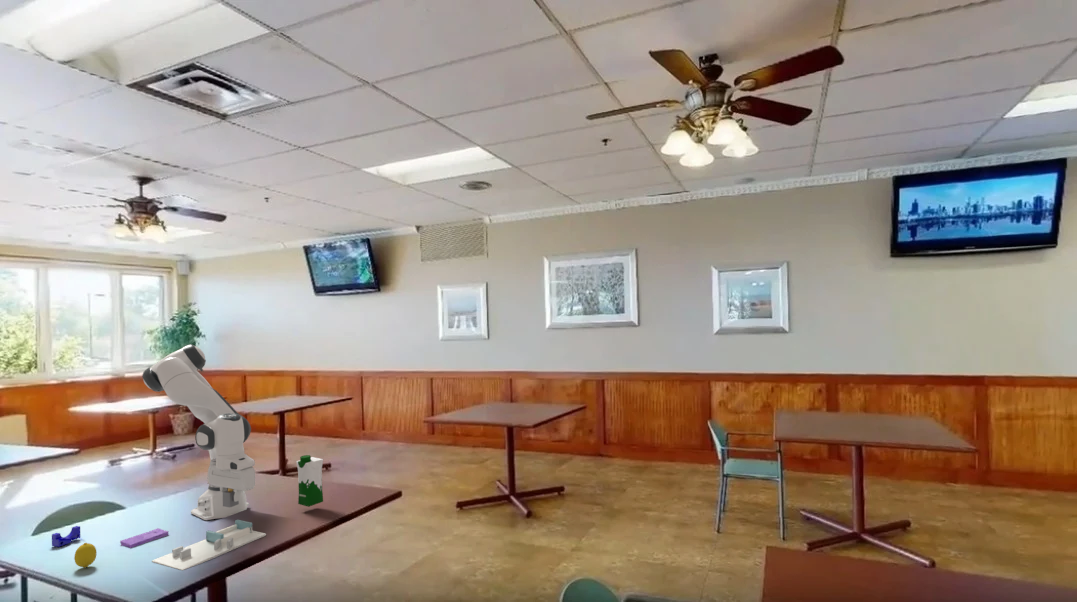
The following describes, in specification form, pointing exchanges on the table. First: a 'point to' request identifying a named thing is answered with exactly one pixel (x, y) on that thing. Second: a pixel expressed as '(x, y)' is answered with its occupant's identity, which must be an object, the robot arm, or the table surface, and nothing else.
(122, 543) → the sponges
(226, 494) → the block
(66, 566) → the table surface
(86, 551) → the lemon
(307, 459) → the milk carton
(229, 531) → the end holder
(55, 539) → the cable holder
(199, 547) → the board
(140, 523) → the table surface
